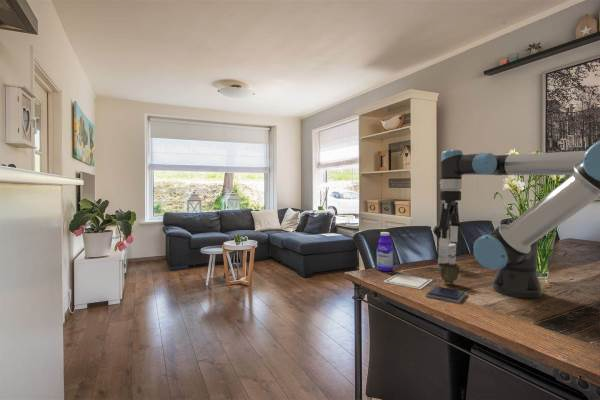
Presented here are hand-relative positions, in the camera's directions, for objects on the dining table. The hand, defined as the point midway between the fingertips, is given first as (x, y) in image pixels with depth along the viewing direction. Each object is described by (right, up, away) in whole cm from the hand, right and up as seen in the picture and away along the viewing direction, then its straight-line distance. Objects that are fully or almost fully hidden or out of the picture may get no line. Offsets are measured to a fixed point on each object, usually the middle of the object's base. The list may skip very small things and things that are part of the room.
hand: (449, 244), depth 131 cm
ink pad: (-7, -17, -13) cm, 22 cm away
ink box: (+10, -15, +25) cm, 31 cm away
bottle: (-20, -15, +22) cm, 34 cm away
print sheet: (-15, -16, +5) cm, 22 cm away
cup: (0, -16, +1) cm, 16 cm away
